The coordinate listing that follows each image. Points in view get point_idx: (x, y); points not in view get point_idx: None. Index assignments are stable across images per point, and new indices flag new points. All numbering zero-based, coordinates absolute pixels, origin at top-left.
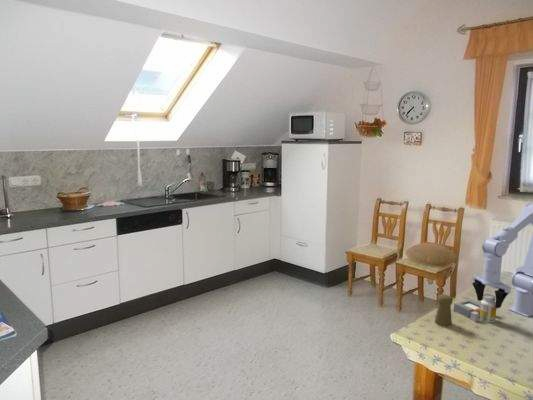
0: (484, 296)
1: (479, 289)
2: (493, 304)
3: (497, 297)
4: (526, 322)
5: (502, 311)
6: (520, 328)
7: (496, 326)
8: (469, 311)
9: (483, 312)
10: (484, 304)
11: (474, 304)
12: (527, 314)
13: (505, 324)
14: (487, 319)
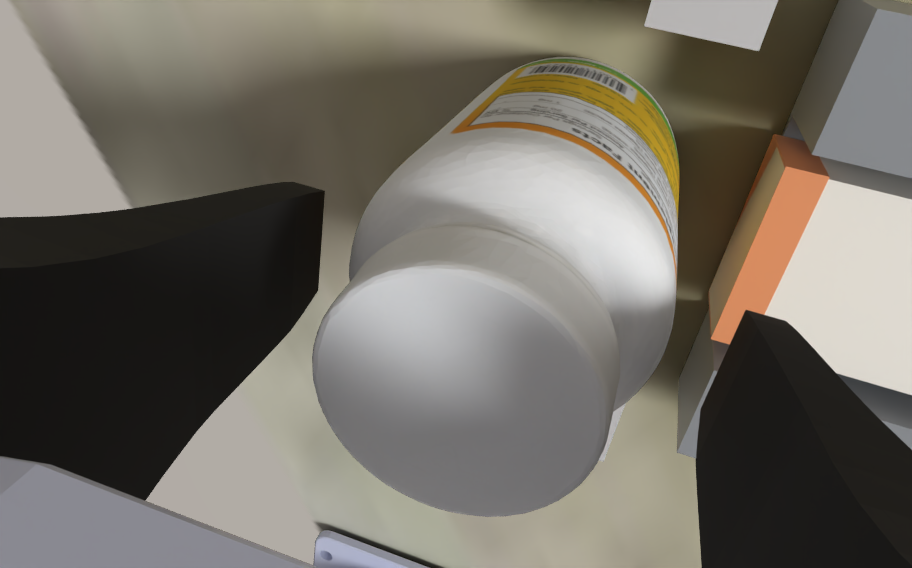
0: (553, 304)
1: (805, 548)
2: (363, 235)
3: (59, 232)
4: (266, 412)
5: (542, 530)
6: None
7: (378, 36)
8: (865, 12)
9: (572, 89)
10: (535, 140)
11: (873, 407)
12: (333, 566)
13: (348, 202)
14: (512, 71)
